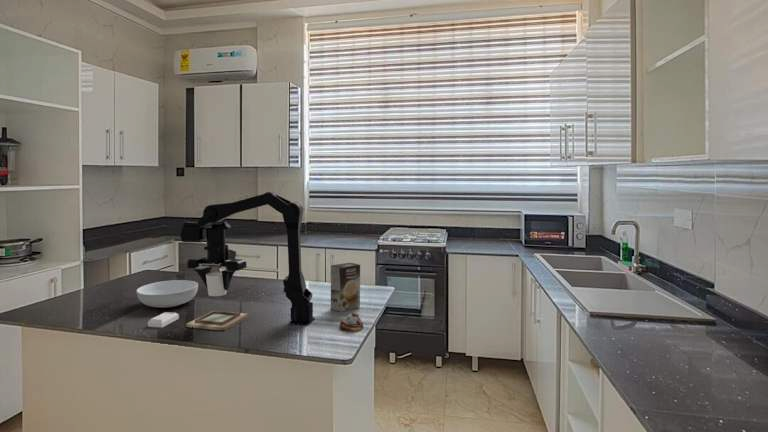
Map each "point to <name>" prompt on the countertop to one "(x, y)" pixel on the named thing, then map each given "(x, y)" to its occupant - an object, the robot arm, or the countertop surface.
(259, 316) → the countertop surface
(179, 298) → the serving bowl
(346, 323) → the pastry
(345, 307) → the coffee box
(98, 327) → the countertop surface
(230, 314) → the board
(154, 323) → the soap bar
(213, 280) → the white tapered cylinder
